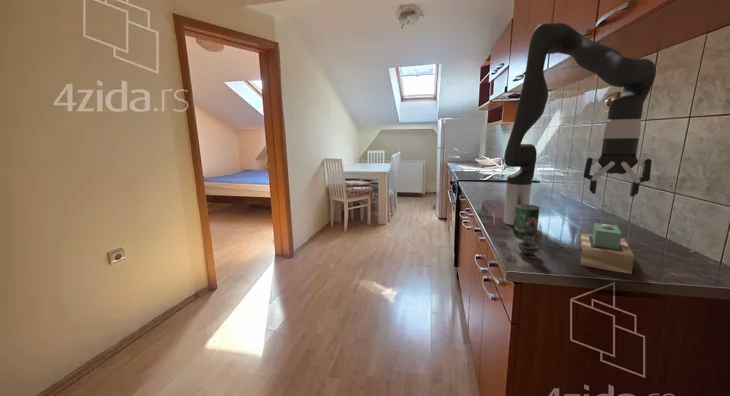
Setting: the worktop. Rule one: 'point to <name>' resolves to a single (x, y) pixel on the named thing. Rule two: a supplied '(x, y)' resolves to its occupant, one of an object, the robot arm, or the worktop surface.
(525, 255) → the grey chess piece
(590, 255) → the stand
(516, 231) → the canned tomato
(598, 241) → the housing
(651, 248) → the worktop surface
